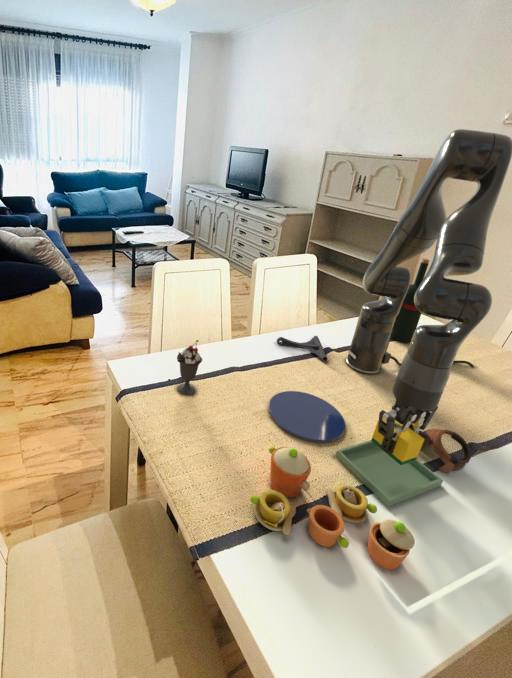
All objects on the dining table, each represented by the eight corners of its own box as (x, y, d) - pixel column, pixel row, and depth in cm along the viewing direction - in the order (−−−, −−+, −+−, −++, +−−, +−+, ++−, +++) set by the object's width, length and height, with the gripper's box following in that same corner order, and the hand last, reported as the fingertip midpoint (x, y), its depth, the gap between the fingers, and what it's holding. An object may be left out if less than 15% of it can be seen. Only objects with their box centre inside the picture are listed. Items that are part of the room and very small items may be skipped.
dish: (384, 441, 90) (386, 435, 90) (440, 487, 79) (443, 480, 78) (334, 457, 85) (336, 450, 84) (387, 508, 74) (390, 501, 73)
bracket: (274, 334, 137) (275, 327, 136) (317, 340, 135) (319, 333, 134) (278, 355, 124) (280, 348, 123) (327, 362, 122) (329, 354, 121)
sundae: (201, 386, 106) (207, 339, 101) (193, 400, 101) (199, 351, 95) (179, 379, 109) (184, 333, 103) (170, 392, 103) (174, 344, 97)
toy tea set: (245, 524, 69) (253, 485, 65) (258, 462, 82) (265, 427, 79) (411, 591, 60) (432, 550, 57) (396, 510, 74) (411, 472, 70)
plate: (307, 390, 108) (308, 385, 107) (360, 434, 92) (362, 430, 92) (254, 402, 101) (254, 398, 101) (301, 452, 86) (302, 447, 85)
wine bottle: (378, 329, 146) (402, 253, 134) (409, 335, 142) (436, 258, 131) (382, 338, 139) (407, 259, 127) (414, 345, 135) (443, 264, 124)
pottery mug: (442, 443, 92) (470, 433, 85) (448, 484, 86) (479, 476, 79) (393, 424, 92) (417, 412, 86) (396, 463, 86) (423, 453, 80)
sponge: (385, 435, 84) (393, 415, 82) (416, 460, 78) (424, 439, 76) (370, 440, 82) (378, 420, 80) (400, 465, 76) (409, 444, 74)
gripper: (413, 397, 67) (386, 470, 74) (466, 383, 72) (436, 453, 79) (376, 373, 74) (354, 442, 80) (427, 362, 79) (402, 428, 85)
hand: (395, 447), depth 79 cm, fingers closed on sponge, 4 cm apart
